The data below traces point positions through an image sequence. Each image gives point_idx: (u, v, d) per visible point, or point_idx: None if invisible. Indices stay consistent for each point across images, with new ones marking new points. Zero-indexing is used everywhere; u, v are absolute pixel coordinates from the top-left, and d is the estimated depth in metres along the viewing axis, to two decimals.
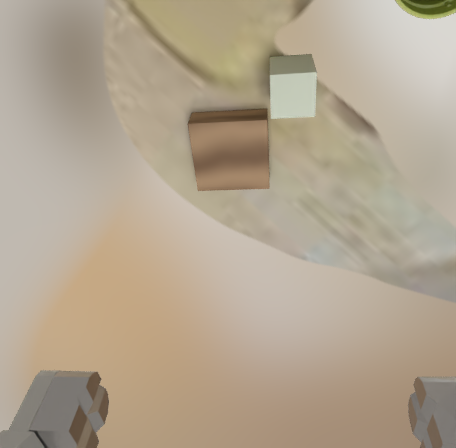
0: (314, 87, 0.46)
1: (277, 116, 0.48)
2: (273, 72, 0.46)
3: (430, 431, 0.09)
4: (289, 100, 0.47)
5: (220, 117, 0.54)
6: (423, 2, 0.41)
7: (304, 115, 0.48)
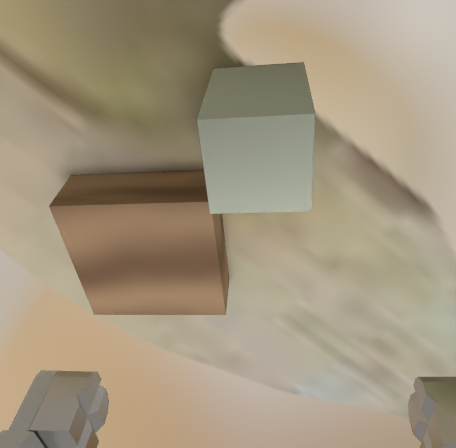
0: (309, 149, 0.19)
1: (223, 208, 0.21)
2: (207, 111, 0.19)
3: (430, 431, 0.09)
4: (250, 176, 0.20)
5: (119, 192, 0.26)
6: None
7: (286, 208, 0.21)
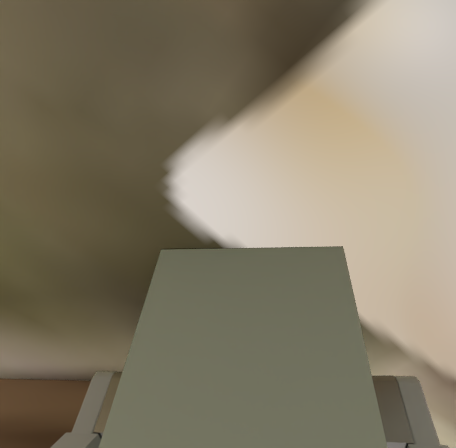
0: None
1: None
2: None
3: None
4: None
5: (1, 438, 0.15)
6: None
7: None
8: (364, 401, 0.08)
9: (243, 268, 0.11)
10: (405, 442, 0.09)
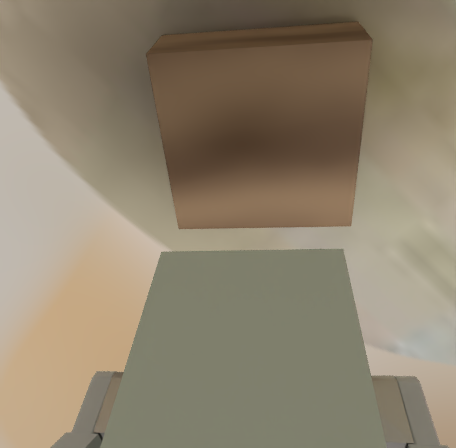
0: None
1: None
2: None
3: None
4: None
5: (236, 40, 0.20)
6: None
7: None
8: (364, 404, 0.08)
9: (243, 270, 0.11)
10: (405, 442, 0.09)
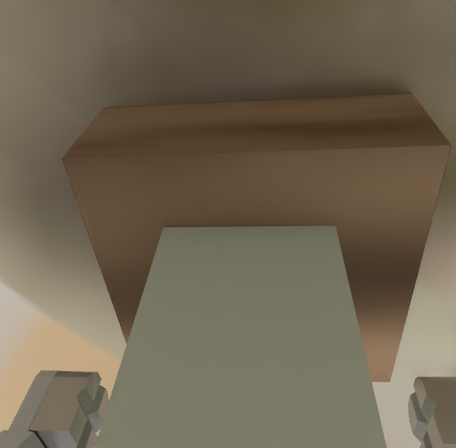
0: None
1: None
2: (119, 436, 0.08)
3: (430, 431, 0.09)
4: None
5: (216, 131, 0.12)
6: None
7: None
8: (354, 359, 0.08)
9: (242, 244, 0.12)
10: None
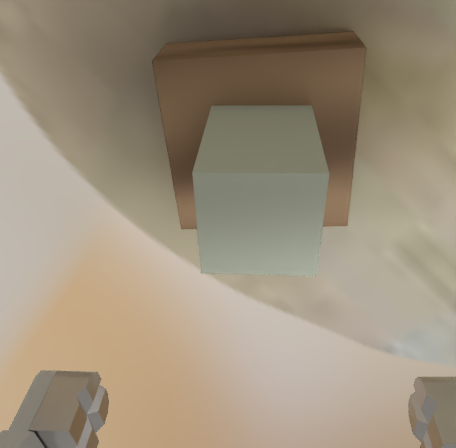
0: (319, 211, 0.16)
1: (216, 268, 0.18)
2: (204, 162, 0.16)
3: (430, 431, 0.09)
4: (250, 236, 0.17)
5: (238, 48, 0.21)
6: None
7: (288, 272, 0.18)
8: (316, 143, 0.17)
9: (258, 111, 0.20)
10: None
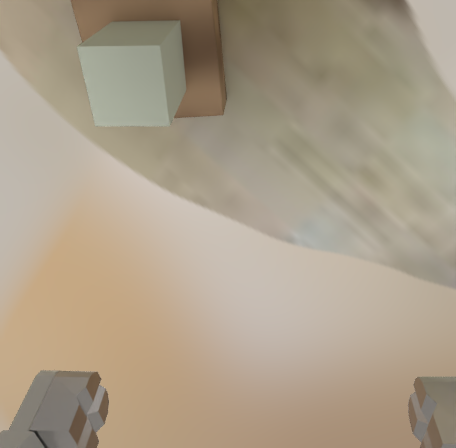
0: (160, 74, 0.26)
1: (105, 122, 0.28)
2: (87, 42, 0.26)
3: (430, 431, 0.09)
4: (121, 95, 0.27)
5: None
6: None
7: (151, 123, 0.27)
8: (164, 35, 0.27)
9: (141, 23, 0.30)
10: None
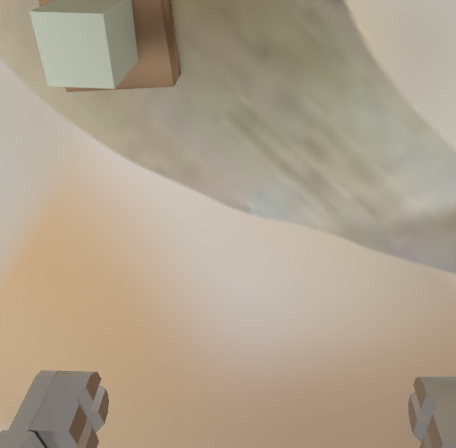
0: (104, 40, 0.29)
1: (56, 82, 0.31)
2: (40, 9, 0.29)
3: (430, 431, 0.09)
4: (70, 58, 0.30)
5: None
6: None
7: (98, 85, 0.31)
8: (111, 6, 0.30)
9: None
10: None
